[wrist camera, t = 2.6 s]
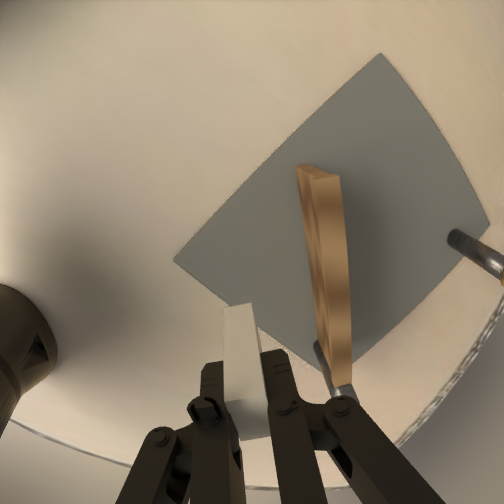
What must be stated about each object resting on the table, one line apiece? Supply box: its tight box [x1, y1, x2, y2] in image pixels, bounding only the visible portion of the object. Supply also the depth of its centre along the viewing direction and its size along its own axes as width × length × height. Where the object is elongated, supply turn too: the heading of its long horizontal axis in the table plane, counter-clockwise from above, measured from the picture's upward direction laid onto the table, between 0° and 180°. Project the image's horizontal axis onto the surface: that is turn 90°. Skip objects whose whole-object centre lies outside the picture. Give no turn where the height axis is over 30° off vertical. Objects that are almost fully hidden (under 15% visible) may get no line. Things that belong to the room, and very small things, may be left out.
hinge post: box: [313, 339, 360, 404], centre depth 33 cm, size 2×2×11 cm
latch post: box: [447, 229, 504, 286], centre depth 28 cm, size 3×3×12 cm
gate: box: [294, 164, 352, 388], centre depth 29 cm, size 20×2×8 cm, turn 11°
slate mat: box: [173, 53, 490, 372], centre depth 33 cm, size 30×26×1 cm
